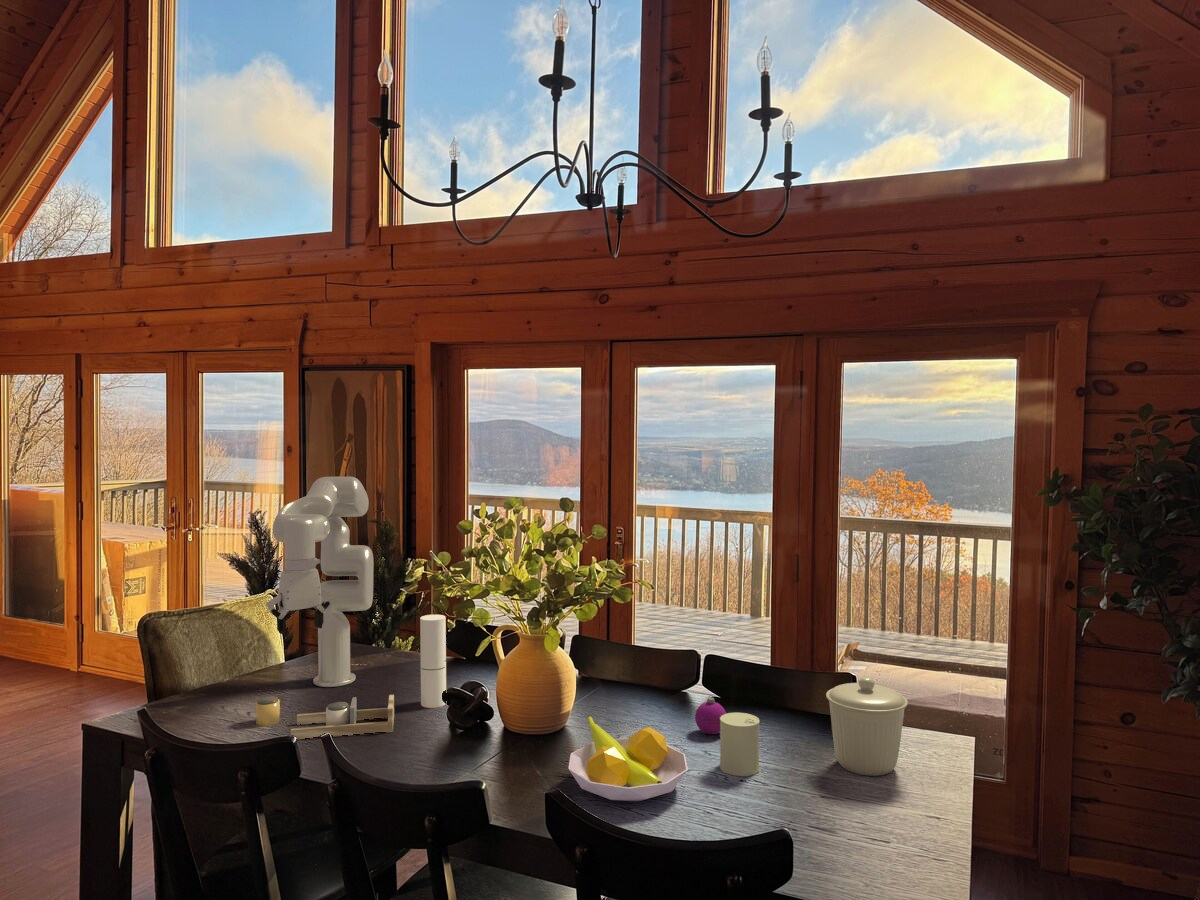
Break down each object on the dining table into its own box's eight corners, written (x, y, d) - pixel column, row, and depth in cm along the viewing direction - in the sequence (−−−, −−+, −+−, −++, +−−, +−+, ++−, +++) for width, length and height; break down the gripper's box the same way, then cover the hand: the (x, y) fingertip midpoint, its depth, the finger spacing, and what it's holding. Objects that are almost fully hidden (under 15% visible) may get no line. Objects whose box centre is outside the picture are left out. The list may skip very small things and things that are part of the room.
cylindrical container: (449, 699, 239) (448, 614, 238) (442, 708, 232) (441, 620, 231) (425, 699, 240) (424, 614, 239) (417, 707, 233) (416, 620, 232)
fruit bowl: (708, 805, 172) (708, 751, 172) (584, 822, 165) (584, 767, 164) (661, 754, 199) (661, 708, 199) (552, 767, 192) (552, 719, 191)
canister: (817, 751, 201) (818, 666, 200) (892, 752, 200) (893, 666, 199) (836, 783, 183) (837, 689, 182) (918, 784, 182) (919, 690, 181)
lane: (297, 723, 220) (297, 701, 220) (394, 716, 226) (393, 694, 225) (290, 740, 208) (290, 716, 208) (392, 731, 214) (392, 709, 214)
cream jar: (327, 725, 219) (327, 702, 219) (350, 723, 220) (350, 700, 220) (325, 733, 213) (324, 709, 213) (349, 731, 214) (348, 708, 214)
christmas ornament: (701, 740, 208) (701, 701, 207) (690, 728, 216) (690, 691, 215) (731, 737, 210) (731, 699, 209) (719, 726, 218) (719, 689, 217)
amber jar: (258, 719, 224) (258, 696, 224) (281, 717, 225) (281, 695, 225) (254, 726, 218) (253, 703, 218) (277, 725, 219) (277, 702, 219)
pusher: (352, 719, 222) (352, 697, 222) (356, 719, 222) (356, 697, 222) (350, 731, 213) (349, 708, 213) (354, 730, 213) (353, 708, 213)
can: (750, 779, 185) (750, 727, 184) (713, 770, 190) (713, 719, 189) (765, 765, 192) (765, 714, 192) (728, 757, 197) (729, 707, 197)
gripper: (325, 560, 222) (326, 622, 223) (261, 567, 211) (261, 633, 211) (337, 563, 217) (338, 627, 217) (272, 570, 205) (272, 638, 205)
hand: (300, 630), depth 214 cm, fingers open, 9 cm apart
